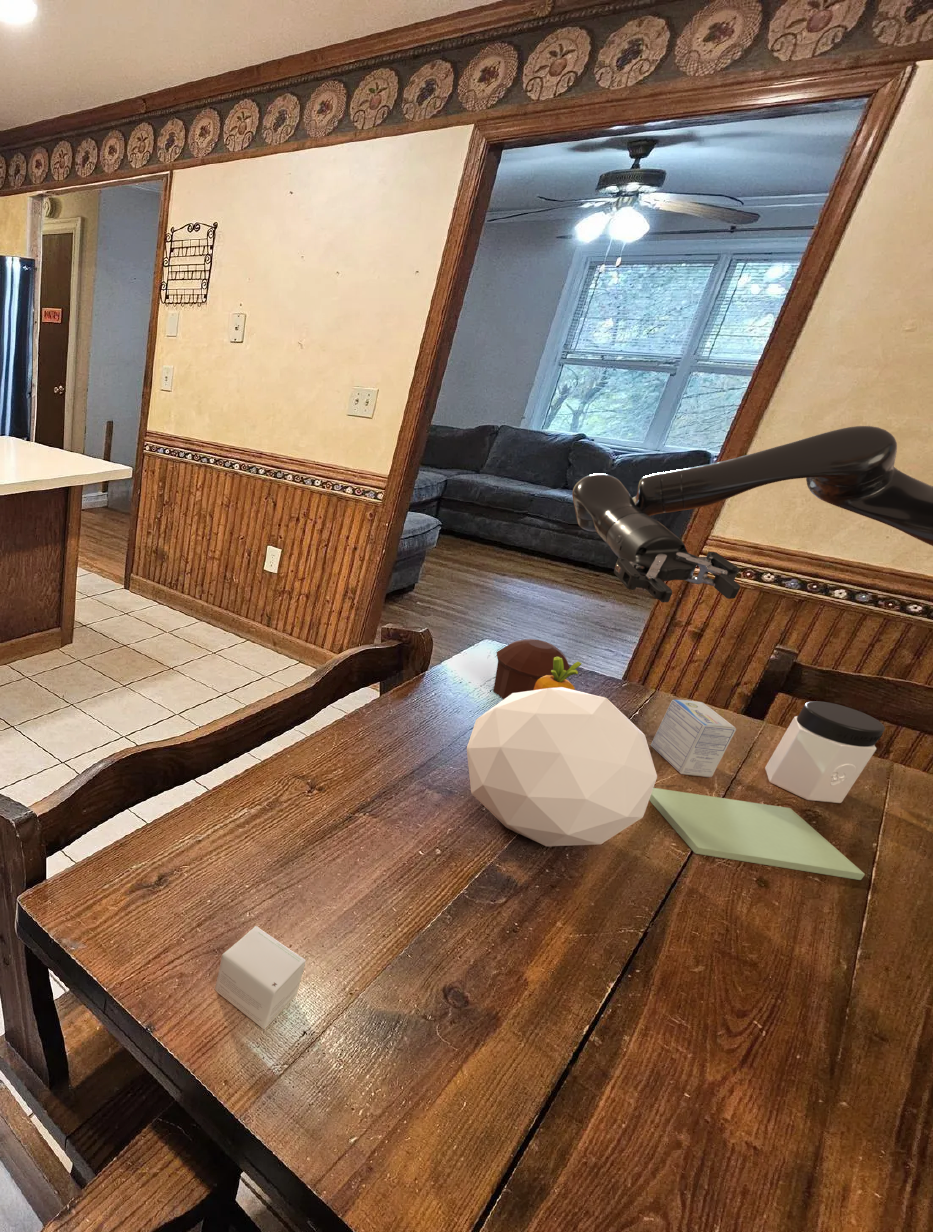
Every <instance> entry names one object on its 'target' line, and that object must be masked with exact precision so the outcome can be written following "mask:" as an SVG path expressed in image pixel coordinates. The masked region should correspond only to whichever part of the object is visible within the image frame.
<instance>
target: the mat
mask: <svg viewBox="0 0 933 1232" xmlns="http://www.w3.org/2000/svg"><path fill="white" fill-rule="evenodd" d="M649 802H650V803H651V804H652V806H654V808H655V809H656V810H657V811H658V813H660V815H661V816H662V817H663V818H664V819H665V820H666V822H667V823H668V825H670V826H671V827H672V829H673V830H674V831H675V832H676V833H677V835H679V837H680V838H681V839H682V840H683V842H684V843H685V844H686V845H687V846H688V847H689V848H690V850H691V851H692V852H693V853H694V854H696V855H701V856H708V857H714V858H720V859H727V860H734V861H739V862H745V863H751V864H758V865H763V866H764V865H765V866H769V867H770V866H771V867H777V868H781V869H790V870H794V871H802V872H808V873H813V874H818V875H819V874H820V875H826V876H833V877H838V878H844V879H849V880H850V879H851V880H856V881H857V880H858V881H861V880H863V878H864V877H865V875H866V874H865V873H864V872H863V871H862V870H861V869H860V868H859V867H858V866H857V865H855V864H854V863H853V862H852V861H851V860H850V859H848V858H847V857H846V856H845V855H844V854H843V853H842V852H841V851H840V850H838V849H837V848H836V847H835V846H834V845H833V844H832V843H830V841H828V840H827V839H826V838H825V837H823V836H822V835H821V834H820V833H819V832H818V831H817V830H816V829H815V828H813V827H812V826H811V824H809V823H808V822H807V821H805V819H803V817H801V816H800V815H798V813H796V812H795V811H794V810H793V809H792V808H790V807H785V806H778V805H772V804H765V803H759V802H752V801H744V800H738V799H731V798H725V797H719V796H711V795H705V794H698V793H691V792H685V791H677V790H671V789H665V788H660V787H659V788H658V787H654V788H653V791H652V793H651V796H650V799H649Z"/></svg>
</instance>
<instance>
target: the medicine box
mask: <svg viewBox="0 0 933 1232" xmlns="http://www.w3.org/2000/svg"><path fill="white" fill-rule="evenodd" d="M736 732H737V728H736V726H735V725H733V724H732V723H730V722H729V721H728V720H726V719H725V718H724V717H723V716H721V715H720V714H719V713H718V712H716V711H715V710H714V709H712V708H711V707H709V705H707V704H705V703H704V702H703V701H694V700H689V699H688V700H687V699H672V700H671V701H670V704H669V705H668V707H667V709H666V711H665V713H664V716H663V718H662V720H661V722H660V724H659V727H658V729H657V730H656V732H655V735H654V737H653V738H652V741H651V743H650V747H651V748H653V749H654V750H655V751H656V752H657V753H658V754H659V755H660V756H661V757H662V758H663V759H664V760H665V761H666V762H668V763H669V764H670V765H671V766H672V767H673V768H674V769H675V770H676V772H678V773H679V774H681V775H684V776H686V775H687V776H695V777H704V778H712V777H713V776H714V774H715V772H716V770H717V768H718V766H719V764H720V762H721V761H722V758H723V757H724V755H725V752H726V750H727V748H728V747H729V745H730V743H731V741H732V739H733V737H734V735H735V733H736Z"/></svg>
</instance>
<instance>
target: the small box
mask: <svg viewBox="0 0 933 1232" xmlns="http://www.w3.org/2000/svg"><path fill="white" fill-rule="evenodd" d="M306 962H307V961H306V959H305V958H304V957H302V956H300V954H297V953H296V952H295V951H293V950H292V949H290V948H289V947H287V946H286V945H284V944H283V943H281V942H280V941H279V940H277V939H276V938H275V937H273V936H272V935H270V934H268V932H266V931H264V930H263V929H261V928H260V927H259V926H258V925H254V927H253V928H251V929H250V930H249V931H248V932H247V933H246V934H245V935H243V936H242V937H241V938H240V939H239V940H238V941H236V942H235V943H234V944H233V945H232V946H231V947H229V948H228V949H227V950H226V951H224V952H223V953H222V954H221V959H220V964H219V968H218V973H217V978H216V982H215V987H214V991H215V992H216V993H217V994H219V995H220V996H221V997H222V998H224V999H225V1000H226V1001H228V1002H229V1003H230V1004H231V1005H232V1006H234V1007H235V1008H236V1009H237V1010H238V1011H240V1012H241V1013H242V1014H244V1015H245V1016H246V1017H248V1018H249V1019H250V1020H251V1021H253V1022H254V1023H255V1024H256V1025H258V1026H259V1027H260V1028H261V1029H262V1030H266V1029H267V1028H268V1027H269V1025H271V1024H272V1023H273V1022H274V1021H275V1019H276V1018H277V1017H278V1016H279V1015H280V1014H281V1013H282V1012H283V1011H284V1009H286V1008H287V1006H289V1004H290V1003H291V1002H293V1000H294V999H295V998H296V997H297V996H298V992H299V989H300V985H301V981H302V978H303V973H304V970H305V966H306Z"/></svg>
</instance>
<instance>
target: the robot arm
mask: <svg viewBox="0 0 933 1232" xmlns="http://www.w3.org/2000/svg"><path fill="white" fill-rule="evenodd" d="M897 453H898V443H897V440H896V438H895V436H894V435H893V434H892V433H891V432H890V431H887V430H886V429H884V428H881V427H877V426H873V425H872V426H871V425H857V426H855V425H854V426H847V427H843V428H839V429H834V430H830V431H827V432H824V433H820V434H816V435H812V436H810V437H806V438H802V439H799V440H795V441H792V442H789V443H785V444H782V445H781V444H780V445H778V446H775V447H771V448H768V449H764V450H760V451H757V452H753V453H749V454H746V455H742V456H739V457H735V458H732V459H728V460H723V461H719V462H714V463H709V464H703V465H699V466H694V467H693V466H692V467H688V468H683V469H676V470H670V471H665V472H664V471H663V472H657V473H652V474H649V475H645V476H643V477H641V479H640V480H639V482H638V485H637V490H636V491H637V492H636V494H635V496H633V497H632V496H631V494H630V493H629V491H628V490H627V488H626V487H625V485H624V484H623V483H622V482H621V481H620V480H619V479H618V478H617V477H614V476H613V475H610V474H606V473H593V474H589V475H586V476H584V477H582V478H581V479H579V481H577V482H576V483H575V485H574V486H573V488H572V493H571V495H572V501H573V506H574V511H575V517H576V518H575V519H576V522H577V524H578V525H577V526H579V527H580V528H581V529H583V530H585V531H587V532H593V533H594V532H596V533H597V535H598V536H599V537H600V538H601V539H602V540H603V541H604V542H605V543H606V544H607V545H608V546H609V547H610V549H611V550H612V552H613V553H614V554H615V556H617V557H618V558H617V561H616V563H615V566H614V570H613V574H614V575H615V577H616V578H618V580H619V581H620V582H621V583H622V584H623V585H624V587H625V588H626V589H627V590H630V591H635V590H636V589H637V588H639V589H641V590H642V591H644V592H648V593H649V594H650V595H651V596H652V597H653V598H654V599H656V600H658V601H659V602H660V603H669V602H670V600H671V597H672V595H673V590H672V588H671V587H669V586H668V585H667V584H666V582H672V581H686V582H689V583H692V584H695V585H700V584H706V585H709V586H711V587H713V588H714V589H715V590H716V591H718V592H719V593H720V594H721V595H722V596H723V597H725V598H726V599H727V600H731V599H732V600H733V599H735V598H736V597H737V596H738V593H739V591H740V589H741V585H740V584H739V583H738V582H737V581H735V580H736V578H737V576H738V573H739V570H740V568H739V567H738V566H736V565H735V564H734V563H732V562H730V561H729V560H728V559H726V558H725V557H723V555H720V554H719V553H717V552H715V551H708V552H707V554H706V555H705V556H699V557H698V556H697V555H694V554H692V553H690V552H688V550H687V548H686V545H685V542H683V540H682V539H680V537H678V536H677V535H676V534H674V533H673V532H672V531H671V530H670V529H668V527H666V526H665V525H664V524H662V523H661V522H660V521H658V520H657V519H656V518H653V517H651V516H655V515H658V514H667V513H675V512H679V511H680V512H682V511H687V510H689V511H690V510H695V509H700V508H705V507H708V506H712V505H714V504H717V503H721V502H723V501H725V500H728V499H730V498H733V497H735V496H738V495H741V494H742V493H745V492H748V491H751V490H753V489H756V488H759V487H762V486H766V485H769V484H774V483H779V482H783V481H789V480H798V479H799V480H800V479H805V480H806V485H807V487H808V490H809V492H810V493H811V494H812V495H813V496H815V497H816V498H817V499H819V500H820V501H823V502H825V503H827V504H829V505H833V506H835V507H838V508H841V509H842V510H846V511H849V512H851V513H854V514H856V515H859V516H863V517H865V518H869V519H871V520H874V521H876V522H879V523H882V524H885V525H887V526H889V527H892V528H894V529H896V530H898V531H900V532H902V533H905V534H906V535H908V536H910V537H913V538H915V539H916V540H919V541H921V542H922V543H925V544H927V545H929V546H932V547H933V485H931V484H928V483H926V482H923V481H922V480H919V479H917V478H915V477H912V476H910V475H908V474H907V473H904V472H903V471H901V470H899V469H897V467H895V463H896V459H897ZM697 567H698V568H699V570H698V574H697V576H696V575H694V572H695V570H696V569H697ZM708 574H711V575H713V576H714V578H711V577H708Z"/></svg>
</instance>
